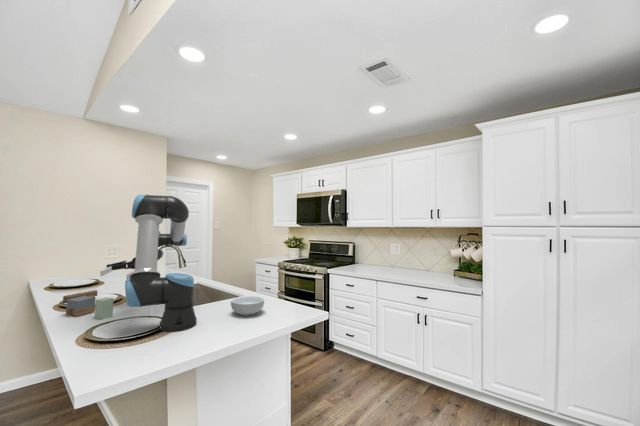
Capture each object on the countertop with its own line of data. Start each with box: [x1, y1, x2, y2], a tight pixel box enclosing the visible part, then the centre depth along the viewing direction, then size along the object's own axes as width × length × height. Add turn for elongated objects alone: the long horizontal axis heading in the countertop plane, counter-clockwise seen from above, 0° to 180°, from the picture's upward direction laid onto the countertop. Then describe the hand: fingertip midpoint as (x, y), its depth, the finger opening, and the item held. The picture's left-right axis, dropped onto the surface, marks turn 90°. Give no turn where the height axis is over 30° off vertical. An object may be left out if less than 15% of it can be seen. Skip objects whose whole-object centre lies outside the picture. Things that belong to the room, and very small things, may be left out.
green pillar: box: [94, 296, 114, 321], centre depth 140 cm, size 5×5×9 cm
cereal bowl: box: [230, 295, 265, 317], centre depth 149 cm, size 17×17×7 cm
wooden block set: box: [62, 289, 98, 304], centre depth 166 cm, size 17×6×18 cm
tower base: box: [65, 305, 95, 318], centre depth 144 cm, size 8×8×4 cm
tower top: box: [65, 296, 96, 310], centre depth 144 cm, size 8×8×4 cm
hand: (114, 275), depth 143 cm, fingers open, 13 cm apart
